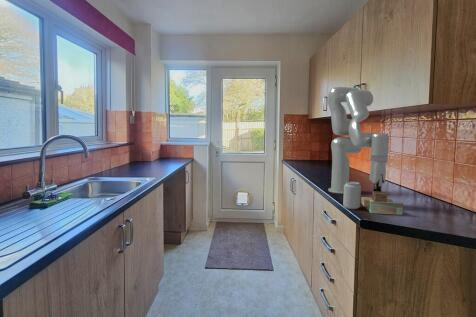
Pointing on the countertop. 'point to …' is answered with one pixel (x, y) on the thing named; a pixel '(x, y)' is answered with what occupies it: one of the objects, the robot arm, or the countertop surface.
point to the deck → (382, 206)
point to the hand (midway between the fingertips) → (376, 196)
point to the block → (379, 196)
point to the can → (352, 195)
